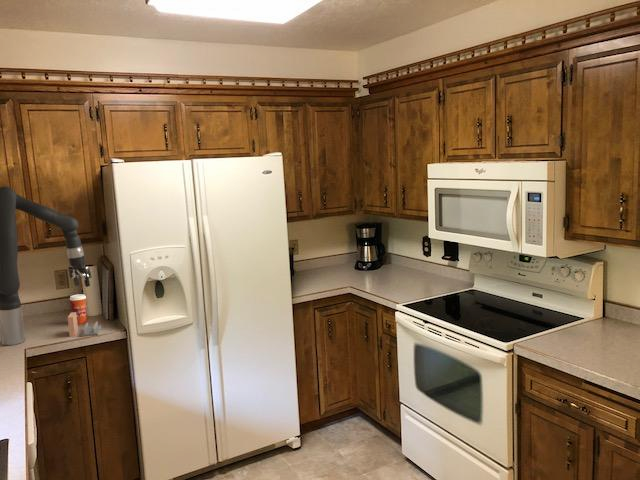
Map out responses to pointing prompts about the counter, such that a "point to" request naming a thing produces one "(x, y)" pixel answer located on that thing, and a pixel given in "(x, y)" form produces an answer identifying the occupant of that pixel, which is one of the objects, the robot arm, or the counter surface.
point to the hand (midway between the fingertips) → (82, 286)
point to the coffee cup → (79, 307)
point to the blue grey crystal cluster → (90, 330)
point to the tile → (72, 324)
